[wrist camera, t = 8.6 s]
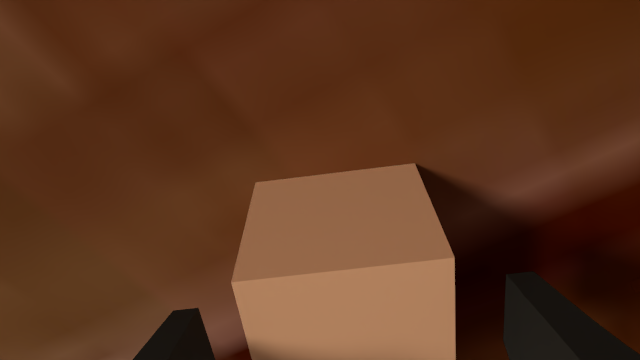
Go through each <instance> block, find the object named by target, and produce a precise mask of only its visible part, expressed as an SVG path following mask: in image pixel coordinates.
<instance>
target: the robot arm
mask: <svg viewBox="0 0 640 360" xmlns="http://www.w3.org/2000/svg"><path fill="white" fill-rule="evenodd" d="M503 341H504V344H505V347H506V350H507V353H508V356H509V359H510V360H640V354H638V353H637V352H635V351H634V350H632V349H631V348H630V347H628V346H627V345H625V344H624V343H623V342H621V341H620V340H619V339H617V338H616V337H615V336H613V335H612V334H611V333H609V332H608V331H607V330H606V329H604V328H603V327H602V326H600V325H599V324H598V323H596V322H595V321H594V320H592V319H591V318H590V317H589V316H587V315H586V314H585V313H584V312H582V311H581V310H580V309H579V308H577V307H576V306H575V305H574V304H573V303H571V302H570V301H569V300H568V299H566V298H565V297H564V296H563V295H562V294H560V293H559V292H558V291H557V290H556V289H554V288H553V287H552V286H551V285H549V284H548V283H547V282H546V281H545V280H543V279H542V278H541V277H540V276H538V275H537V274H536V273H535V272H533V271H532V272H523V273H514V274H506V288H505V311H504V335H503ZM133 360H215V358H214V355H213V352H212V348H211V345H210V342H209V339H208V336H207V333H206V330H205V327H204V324H203V321H202V318H201V315H200V312H199V309H198V308H194V309H185V310H175V311H173V312H172V313H171V314H170V315H169V316H168V318H167V319H166V320H165V321H164V322H163V324H162V325H161V326H160V327H159V328H158V330H157V331H156V332H155V333H154V334H153V336H152V337H151V338H150V339H149V341H148V342H147V343H146V344H145V345H144V347H143V348H142V349H141V350H140V351H139V353H138V354H137V355H136V356H135V358H134V359H133Z"/></svg>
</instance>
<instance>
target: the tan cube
mask: <svg viewBox="0 0 640 360" xmlns="http://www.w3.org/2000/svg"><path fill="white" fill-rule="evenodd" d="M231 283H232V287H233V291H234V294H235V298H236V302H237V306H238V309H239V313H240V317H241V320H242V324H243V328H244V332H245V335H246V339H247V343H248V346H249V350H250V354H251V358H252V360H456V342H455V257H454V255H453V252H452V250H451V248H450V245H449V243H448V241H447V238H446V236H445V234H444V231H443V229H442V226H441V224H440V222H439V219H438V217H437V215H436V212H435V210H434V208H433V205H432V203H431V200H430V198H429V196H428V193H427V191H426V189H425V186H424V184H423V181H422V179H421V177H420V174H419V172H418V170H417V167H416V165H415V163H413V164H405V165H397V166H389V167H380V168H372V169H364V170H356V171H347V172H339V173H331V174H323V175H314V176H306V177H298V178H290V179H281V180H273V181H265V182H256V183H255V187H254V191H253V195H252V199H251V203H250V207H249V211H248V216H247V220H246V224H245V228H244V232H243V236H242V240H241V244H240V248H239V253H238V257H237V261H236V265H235V269H234V273H233V277H232V281H231Z"/></svg>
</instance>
